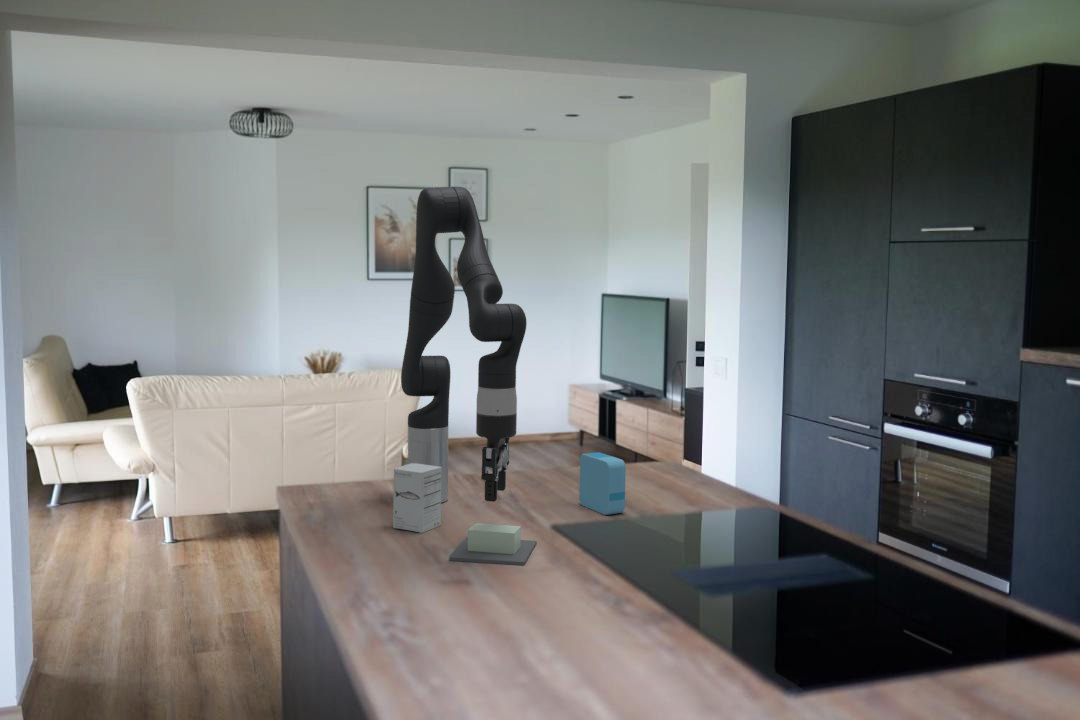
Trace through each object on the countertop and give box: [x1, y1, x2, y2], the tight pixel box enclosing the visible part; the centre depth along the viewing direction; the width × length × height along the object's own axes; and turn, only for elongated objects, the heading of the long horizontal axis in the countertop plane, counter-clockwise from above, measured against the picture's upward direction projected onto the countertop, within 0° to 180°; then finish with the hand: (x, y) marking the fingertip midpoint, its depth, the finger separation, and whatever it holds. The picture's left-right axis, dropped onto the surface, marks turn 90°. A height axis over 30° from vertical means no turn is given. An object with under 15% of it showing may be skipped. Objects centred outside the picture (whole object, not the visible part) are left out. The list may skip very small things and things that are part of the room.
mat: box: [448, 536, 537, 566], centre depth 187 cm, size 14×14×1 cm
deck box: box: [467, 522, 522, 554], centre depth 187 cm, size 5×9×4 cm, turn 78°
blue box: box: [578, 452, 627, 516], centre depth 220 cm, size 12×4×12 cm, turn 30°
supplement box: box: [392, 463, 442, 534], centre depth 203 cm, size 7×7×13 cm
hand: (495, 495), depth 186 cm, fingers open, 8 cm apart
